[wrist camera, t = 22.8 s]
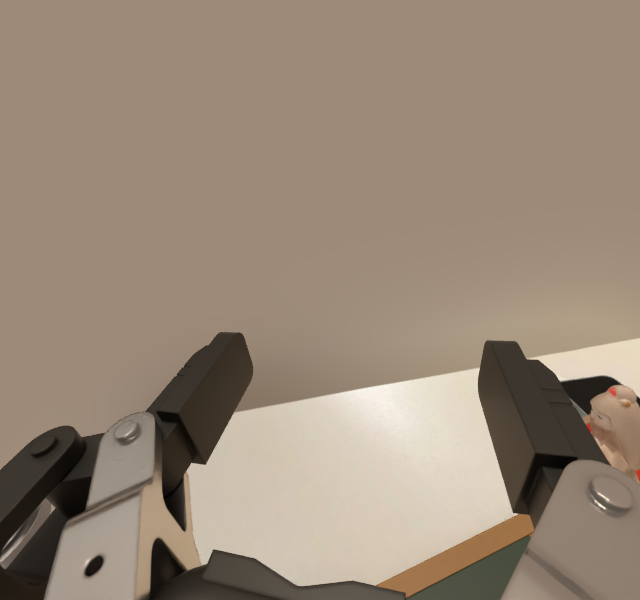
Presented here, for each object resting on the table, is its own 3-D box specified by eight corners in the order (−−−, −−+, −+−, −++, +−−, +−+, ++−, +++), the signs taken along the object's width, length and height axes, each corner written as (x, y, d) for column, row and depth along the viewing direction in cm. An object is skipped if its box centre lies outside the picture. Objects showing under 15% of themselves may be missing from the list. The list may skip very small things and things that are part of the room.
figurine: (515, 448, 33) (555, 360, 28) (574, 445, 34) (623, 358, 28) (586, 544, 25) (660, 445, 20) (661, 539, 26) (753, 441, 20)
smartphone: (609, 374, 39) (766, 494, 26) (607, 379, 40) (760, 500, 26) (552, 382, 39) (680, 506, 26) (550, 387, 40) (675, 512, 27)
